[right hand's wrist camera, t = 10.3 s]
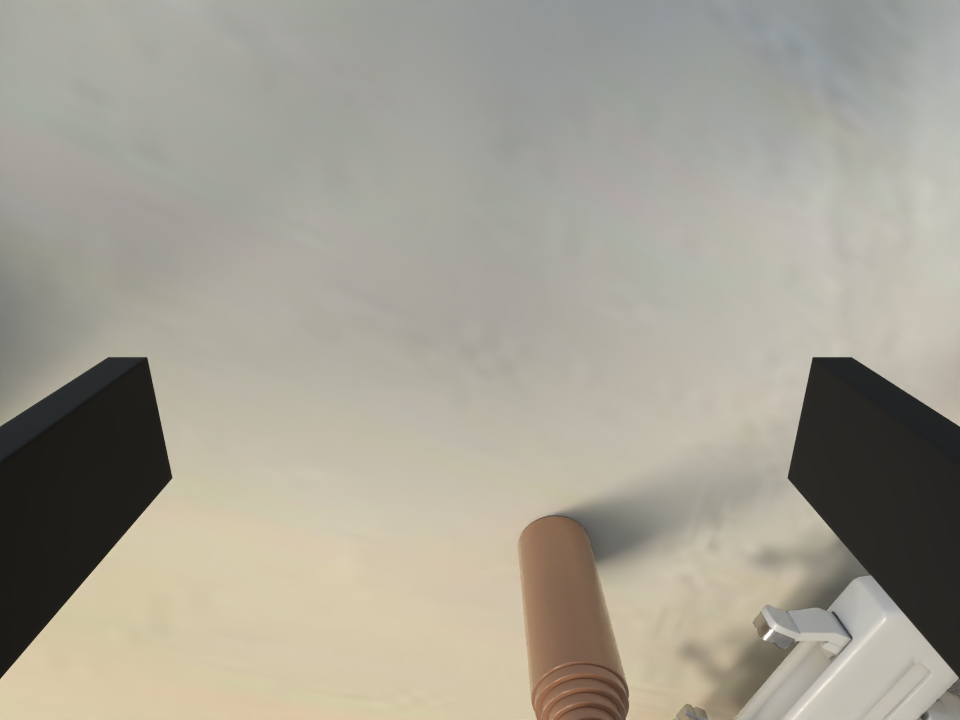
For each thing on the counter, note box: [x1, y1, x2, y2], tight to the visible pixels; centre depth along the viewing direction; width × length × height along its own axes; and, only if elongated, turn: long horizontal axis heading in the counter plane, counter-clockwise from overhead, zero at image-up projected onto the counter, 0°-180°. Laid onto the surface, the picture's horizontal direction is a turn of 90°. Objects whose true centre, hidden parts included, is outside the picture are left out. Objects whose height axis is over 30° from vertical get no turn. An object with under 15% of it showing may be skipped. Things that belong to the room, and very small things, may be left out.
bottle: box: [518, 516, 629, 720], centre depth 36 cm, size 5×5×18 cm
